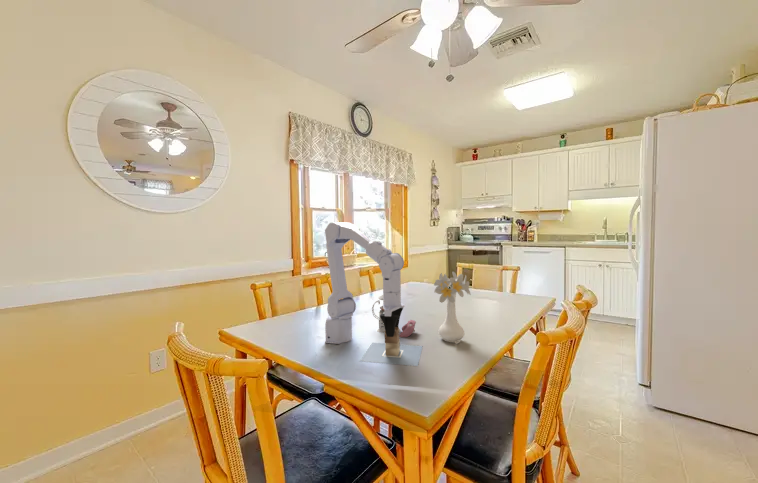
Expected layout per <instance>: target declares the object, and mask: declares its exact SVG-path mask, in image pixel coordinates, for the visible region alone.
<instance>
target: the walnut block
mask: <svg viewBox="0 0 758 483" xmlns="http://www.w3.org/2000/svg"><path fill="white" fill-rule="evenodd" d="M399 329H400V327H399V326H398V327H395V332H394V336H393V337H387V335H386V331H385V332H384V343H395V344H397V343H398V341H399V339H400V337H399V335H400V333H399Z"/></svg>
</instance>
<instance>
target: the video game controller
mask: <svg viewBox="0 0 758 483" xmlns="http://www.w3.org/2000/svg"><path fill="white" fill-rule="evenodd" d="M416 323H417V321H416V320H414V319H410V320H408V321H407V323H406V324H404V325H403V326H402V328H401V332H400V333H399V338H408V337H409V336H411V335H412V333H415V332H416V330H415V328H416V327H415V326H416Z"/></svg>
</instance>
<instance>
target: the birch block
mask: <svg viewBox="0 0 758 483" xmlns="http://www.w3.org/2000/svg"><path fill="white" fill-rule="evenodd" d="M384 343H385V342H384ZM400 345H401V339H400V338H399V341H398V343H397V344H395V343H385V350H386V355H390V356H398V355H399V352H400Z"/></svg>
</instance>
